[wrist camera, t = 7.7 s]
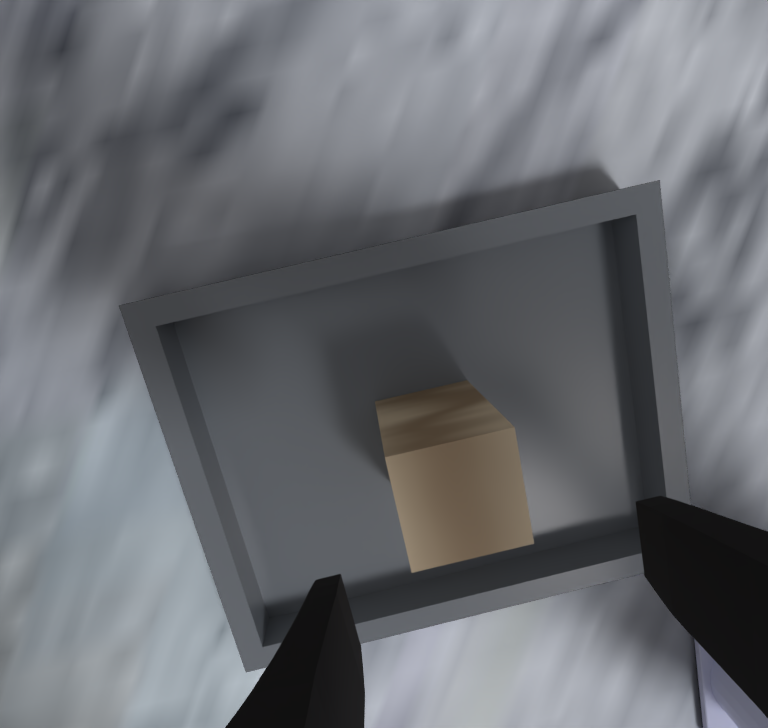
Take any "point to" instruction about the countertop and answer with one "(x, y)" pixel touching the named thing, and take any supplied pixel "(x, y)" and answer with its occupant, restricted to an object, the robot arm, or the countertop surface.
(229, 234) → the countertop surface
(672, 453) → the tray
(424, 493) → the maple block
